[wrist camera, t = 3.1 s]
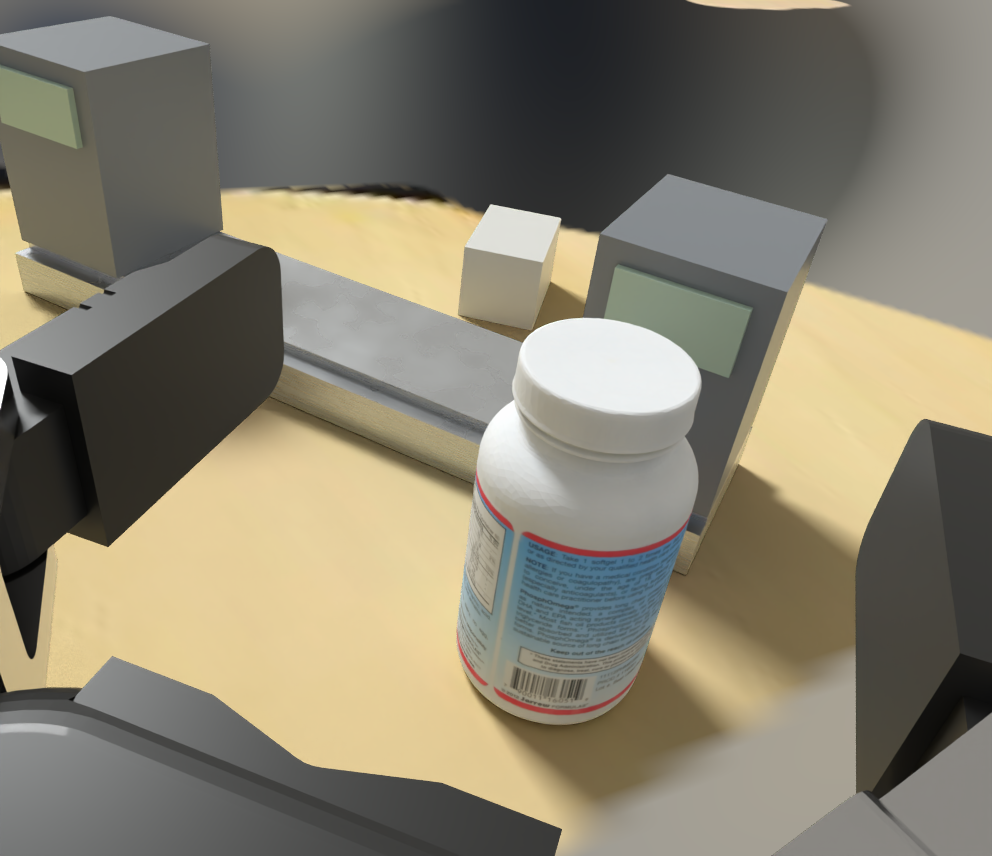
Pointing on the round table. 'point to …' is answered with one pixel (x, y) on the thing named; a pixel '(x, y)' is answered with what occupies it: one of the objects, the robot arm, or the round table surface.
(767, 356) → the modules
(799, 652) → the round table surface
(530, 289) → the box
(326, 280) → the rail
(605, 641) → the pill bottle
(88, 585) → the round table surface
